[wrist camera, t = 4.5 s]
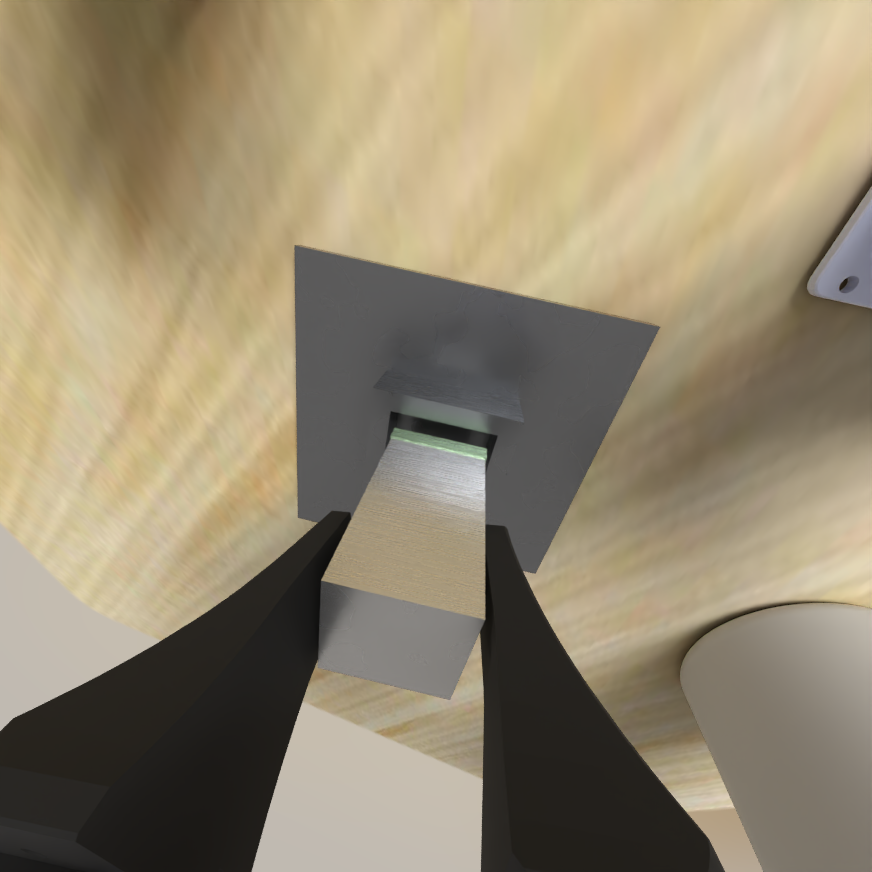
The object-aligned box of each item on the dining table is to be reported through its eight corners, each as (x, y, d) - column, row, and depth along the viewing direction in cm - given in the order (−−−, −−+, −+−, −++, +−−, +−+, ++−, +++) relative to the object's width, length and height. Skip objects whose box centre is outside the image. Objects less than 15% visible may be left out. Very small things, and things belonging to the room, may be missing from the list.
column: (486, 448, 13) (488, 619, 7) (465, 517, 15) (451, 701, 9) (394, 427, 13) (318, 578, 7) (383, 498, 15) (315, 668, 9)
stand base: (654, 324, 13) (689, 340, 11) (534, 566, 20) (540, 607, 18) (300, 245, 13) (263, 245, 11) (302, 511, 20) (278, 544, 18)
